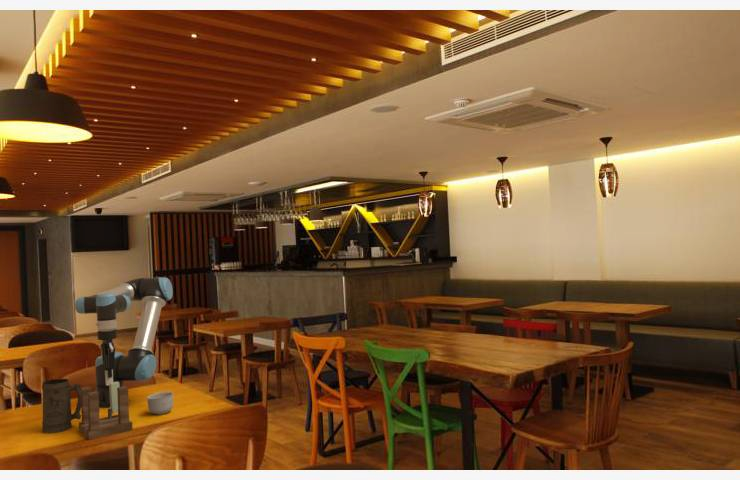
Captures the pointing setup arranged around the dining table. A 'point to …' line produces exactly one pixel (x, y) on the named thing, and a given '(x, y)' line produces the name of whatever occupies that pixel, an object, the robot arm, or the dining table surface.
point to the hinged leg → (113, 396)
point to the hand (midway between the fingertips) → (109, 384)
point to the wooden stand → (106, 425)
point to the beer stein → (59, 405)
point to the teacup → (160, 402)
